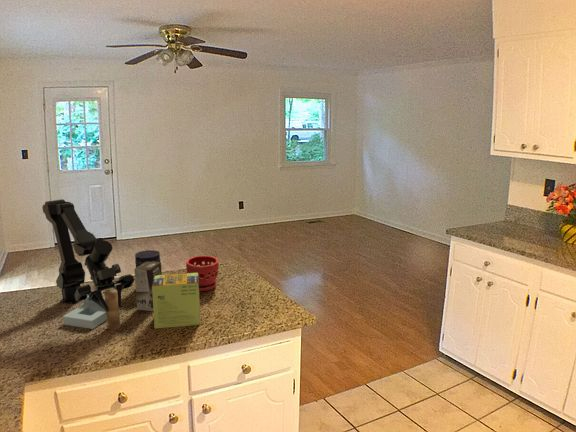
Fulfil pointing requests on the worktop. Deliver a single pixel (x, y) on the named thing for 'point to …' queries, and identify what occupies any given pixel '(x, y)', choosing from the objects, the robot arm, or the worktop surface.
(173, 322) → the protein box
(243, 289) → the worktop surface
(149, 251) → the storage jar
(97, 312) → the socket block
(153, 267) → the coffee box
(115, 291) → the peg
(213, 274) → the plant pot
